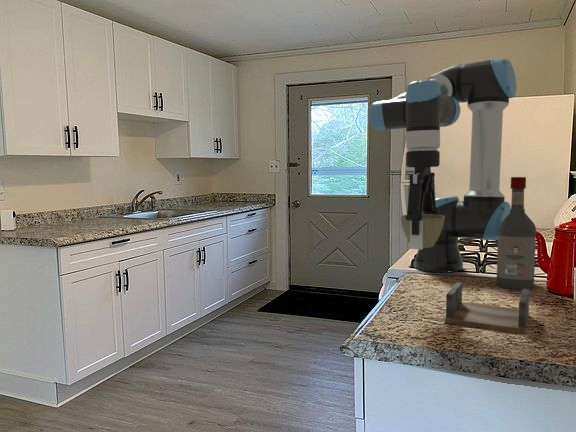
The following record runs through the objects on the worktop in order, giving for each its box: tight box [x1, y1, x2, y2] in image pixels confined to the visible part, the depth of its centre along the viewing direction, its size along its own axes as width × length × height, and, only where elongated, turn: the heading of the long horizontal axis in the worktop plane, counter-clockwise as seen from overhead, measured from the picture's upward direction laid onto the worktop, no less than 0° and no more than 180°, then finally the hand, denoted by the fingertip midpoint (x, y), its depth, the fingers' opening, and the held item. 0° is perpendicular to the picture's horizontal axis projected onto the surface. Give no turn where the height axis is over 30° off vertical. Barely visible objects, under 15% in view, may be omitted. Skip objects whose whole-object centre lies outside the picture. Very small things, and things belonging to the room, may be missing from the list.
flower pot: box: [400, 214, 445, 248], centre depth 112 cm, size 10×10×7 cm
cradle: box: [444, 282, 530, 335], centre depth 105 cm, size 14×15×6 cm
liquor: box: [496, 176, 537, 291], centre depth 130 cm, size 9×9×30 cm
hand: (422, 245), depth 113 cm, fingers closed on flower pot, 10 cm apart
